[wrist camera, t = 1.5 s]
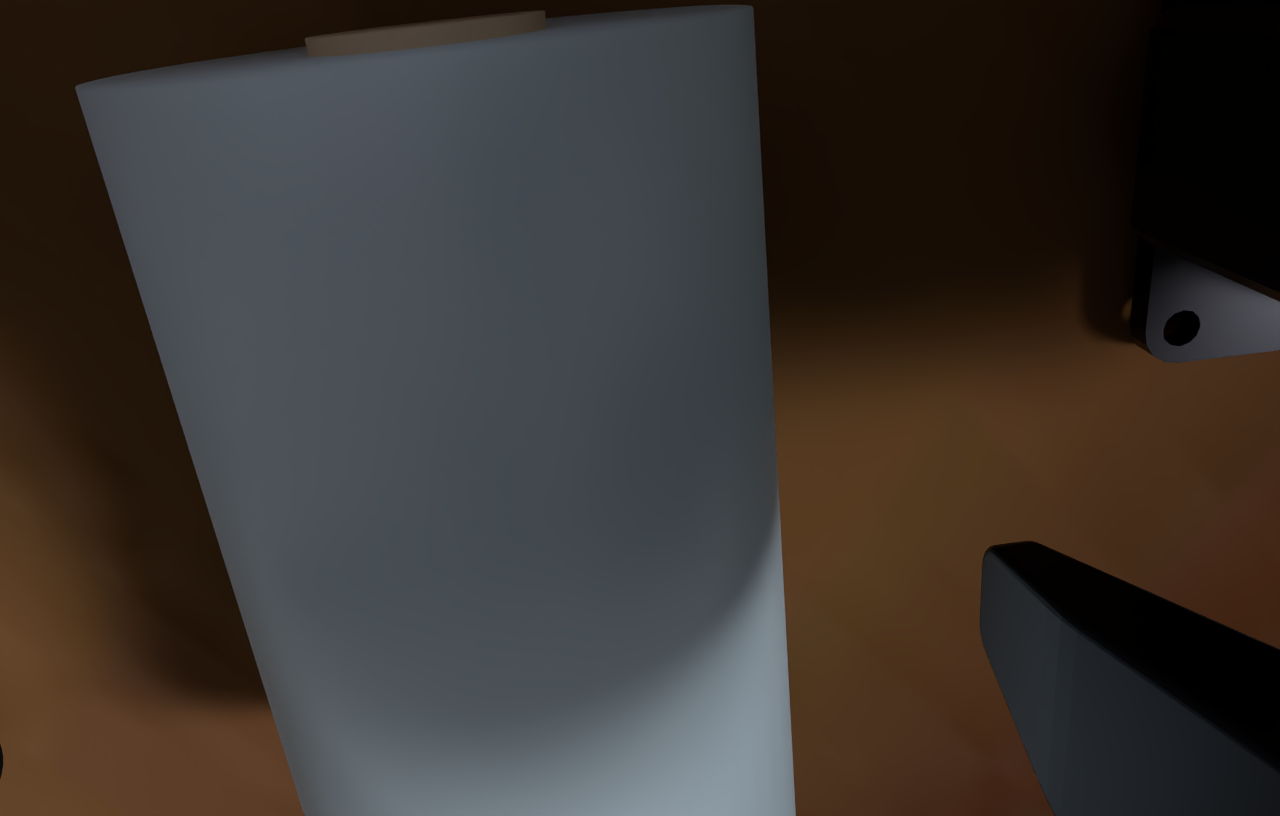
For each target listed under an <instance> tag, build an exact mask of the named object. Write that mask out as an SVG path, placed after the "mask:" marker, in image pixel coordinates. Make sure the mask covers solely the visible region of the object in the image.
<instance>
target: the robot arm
mask: <svg viewBox="0 0 1280 816" xmlns="http://www.w3.org/2000/svg"><path fill="white" fill-rule="evenodd" d="M1131 225H1132V228H1133V229H1134V230H1136V231H1137V232H1138V233H1139V240H1138V250H1137V260H1136V270H1135V280H1134V290H1133V300H1132V310H1131V319H1130V327H1131V336H1132V338H1133V339H1134V341H1135V342H1136V344H1137V345H1138V346H1139V347H1140V348H1142V349H1143V350H1145V351H1147V352H1148V353H1150V354H1151V355H1153V356H1155V357H1156V358H1158V359H1160V360H1162V361H1164V362H1175V363H1179V362H1187V361H1195V360H1203V359H1211V358H1219V357H1227V356H1235V355H1243V354H1251V353H1259V352H1267V351H1276V350H1280V0H1163V3H1162V13H1161V17H1160V18H1159V19H1158V21H1157V22H1156V23H1155V25H1154V26H1153V27H1152V29H1151V30H1150V33H1149V39H1148V50H1147V60H1146V70H1145V81H1144V91H1143V101H1142V111H1141V122H1140V132H1139V142H1138V153H1137V163H1136V173H1135V183H1134V194H1133V204H1132V214H1131ZM1180 311H1183V320H1182V322H1181V325H1180V327H1178V328H1177V329H1176V330H1175V331H1174V332H1173V333H1172V334H1169V335H1166V336H1164V334H1163V329H1164V327H1165V324H1166V321H1167V320H1168V319H1169V318H1170V317H1171V316H1172V315H1173V314H1175V313H1177V312H1180ZM980 632H981V637H982V642H983V646H984V649H985V651H986V654H987V657H988V659H989V661H990V664H991V666H992V669H993V671H994V674H995V676H996V679H997V681H998V683H999V686H1000V688H1001V691H1002V693H1003V696H1004V698H1005V701H1006V703H1007V706H1008V708H1009V710H1010V713H1011V715H1012V718H1013V720H1014V723H1015V725H1016V728H1017V730H1018V732H1019V735H1020V737H1021V740H1022V742H1023V745H1024V747H1025V750H1026V752H1027V755H1028V757H1029V759H1030V762H1031V764H1032V767H1033V769H1034V772H1035V774H1036V776H1037V779H1038V781H1039V783H1040V786H1041V788H1042V790H1043V792H1044V795H1045V797H1046V799H1047V801H1048V803H1049V805H1050V807H1051V809H1052V811H1053V813H1054V815H1055V816H1280V649H1278V648H1275V647H1273V646H1271V645H1268V644H1266V643H1264V642H1262V641H1259V640H1257V639H1255V638H1253V637H1250V636H1248V635H1246V634H1244V633H1241V632H1239V631H1237V630H1234V629H1232V628H1230V627H1228V626H1225V625H1223V624H1221V623H1219V622H1216V621H1214V620H1212V619H1209V618H1207V617H1205V616H1203V615H1200V614H1198V613H1196V612H1194V611H1191V610H1189V609H1187V608H1185V607H1182V606H1180V605H1178V604H1175V603H1173V602H1171V601H1169V600H1166V599H1164V598H1162V597H1160V596H1157V595H1155V594H1153V593H1151V592H1148V591H1146V590H1144V589H1141V588H1139V587H1137V586H1135V585H1132V584H1130V583H1128V582H1126V581H1123V580H1121V579H1119V578H1117V577H1114V576H1112V575H1110V574H1107V573H1105V572H1103V571H1101V570H1098V569H1096V568H1094V567H1092V566H1089V565H1087V564H1085V563H1082V562H1080V561H1078V560H1076V559H1073V558H1071V557H1069V556H1067V555H1064V554H1062V553H1060V552H1058V551H1055V550H1053V549H1051V548H1048V547H1046V546H1044V545H1042V544H1039V543H1037V542H1034V541H1022V542H1014V543H1007V544H999V545H993V546H990V547H989V548H988V549H987V550H986V552H985V554H984V557H983V562H982V582H981V605H980ZM2 768H3V754H2V748H1V745H0V778H1V774H2Z"/></svg>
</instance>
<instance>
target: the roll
mask: <svg viewBox="0 0 1280 816" xmlns="http://www.w3.org/2000/svg"><path fill="white" fill-rule="evenodd" d="M304 39H305V43H306V46H305V47H297V48H290V49H282V50H275V51H268V52H261V53H253V54H246V55H239V56H233V57H226V58H219V59H212V60H206V61H199V62H192V63H186V64H180V65H174V66H167V67H161V68H155V69H150V70H144V71H138V72H132V73H127V74H122V75H117V76H112V77H107V78H102V79H97V80H93V81H90V82H86V83H82V84H80V85H77V86H76V87H75V90H76V93H77V96H78V99H79V102H80V106H81V109H82V112H83V115H84V118H85V121H86V125H87V128H88V131H89V134H90V137H91V140H92V144H93V147H94V150H95V153H96V156H97V159H98V163H99V166H100V169H101V172H102V175H103V178H104V182H105V185H106V188H107V191H108V194H109V197H110V201H111V204H112V207H113V210H114V213H115V217H116V220H117V223H118V226H119V229H120V232H121V236H122V239H123V242H124V245H125V248H126V251H127V255H128V258H129V261H130V264H131V267H132V270H133V274H134V277H135V280H136V283H137V286H138V289H139V293H140V296H141V299H142V302H143V305H144V308H145V312H146V315H147V318H148V321H149V324H150V327H151V331H152V334H153V337H154V340H155V343H156V346H157V350H158V353H159V356H160V359H161V362H162V366H163V369H164V372H165V375H166V378H167V381H168V385H169V388H170V391H171V394H172V397H173V400H174V404H175V407H176V410H177V413H178V416H179V419H180V423H181V426H182V429H183V432H184V435H185V438H186V442H187V445H188V448H189V451H190V454H191V457H192V461H193V464H194V467H195V470H196V473H197V476H198V480H199V483H200V486H201V489H202V492H203V496H204V499H205V502H206V505H207V508H208V511H209V515H210V518H211V521H212V524H213V527H214V530H215V534H216V537H217V540H218V543H219V546H220V549H221V553H222V556H223V559H224V562H225V565H226V568H227V572H228V575H229V578H230V581H231V584H232V587H233V591H234V594H235V597H236V600H237V603H238V606H239V610H240V613H241V616H242V619H243V622H244V625H245V629H246V632H247V635H248V638H249V641H250V645H251V648H252V651H253V654H254V657H255V660H256V664H257V667H258V670H259V673H260V676H261V679H262V683H263V686H264V689H265V692H266V695H267V698H268V702H269V705H270V708H271V711H272V714H273V717H274V721H275V724H276V727H277V730H278V733H279V736H280V740H281V743H282V746H283V749H284V752H285V755H286V759H287V762H288V765H289V768H290V771H291V774H292V778H293V781H294V784H295V787H296V790H297V794H298V797H299V800H300V803H301V806H302V809H303V813H304V816H796V814H795V795H794V776H793V757H792V737H791V718H790V699H789V680H788V661H787V642H786V623H785V604H784V584H783V565H782V546H781V527H780V508H779V489H778V470H777V451H776V431H775V412H774V393H773V374H772V355H771V336H770V317H769V298H768V278H767V259H766V240H765V221H764V202H763V183H762V164H761V145H760V125H759V106H758V87H757V68H756V49H755V30H754V11H753V7H752V6H748V5H706V6H687V7H671V8H657V9H644V10H632V11H620V12H608V13H597V14H586V15H575V16H565V17H555V18H546V16H545V11H543V10H540V11H524V12H512V13H501V14H491V15H481V16H471V17H461V18H452V19H443V20H434V21H426V22H417V23H408V24H400V25H392V26H384V27H376V28H368V29H360V30H353V31H345V32H338V33H331V34H325V35H318V36H312V37H307V38H304Z"/></svg>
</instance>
